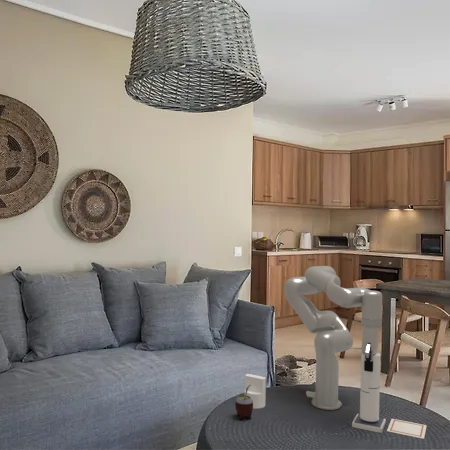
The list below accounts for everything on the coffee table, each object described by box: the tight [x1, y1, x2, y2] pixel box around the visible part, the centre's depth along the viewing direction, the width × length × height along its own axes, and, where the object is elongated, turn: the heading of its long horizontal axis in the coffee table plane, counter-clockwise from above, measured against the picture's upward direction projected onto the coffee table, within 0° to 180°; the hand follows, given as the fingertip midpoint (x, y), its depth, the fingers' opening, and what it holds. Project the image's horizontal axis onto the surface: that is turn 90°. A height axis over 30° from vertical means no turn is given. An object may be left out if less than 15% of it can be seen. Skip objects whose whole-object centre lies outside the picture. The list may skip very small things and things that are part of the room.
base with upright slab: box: [244, 373, 267, 410], centre depth 208 cm, size 9×9×12 cm
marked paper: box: [386, 418, 427, 440], centre depth 186 cm, size 13×13×1 cm
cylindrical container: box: [359, 351, 381, 422], centre depth 189 cm, size 7×7×25 cm
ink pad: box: [351, 413, 387, 434], centre depth 189 cm, size 11×10×2 cm
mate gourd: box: [234, 385, 254, 421], centre depth 193 cm, size 8×8×15 cm
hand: (370, 368), depth 189 cm, fingers closed on cylindrical container, 7 cm apart
